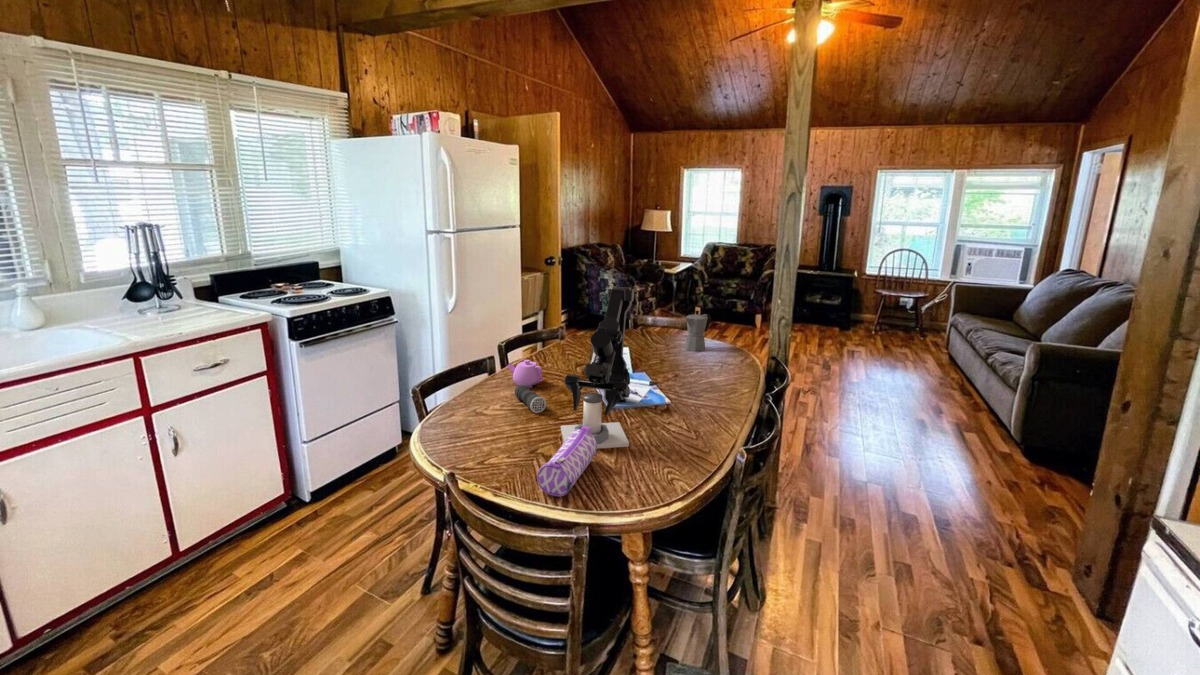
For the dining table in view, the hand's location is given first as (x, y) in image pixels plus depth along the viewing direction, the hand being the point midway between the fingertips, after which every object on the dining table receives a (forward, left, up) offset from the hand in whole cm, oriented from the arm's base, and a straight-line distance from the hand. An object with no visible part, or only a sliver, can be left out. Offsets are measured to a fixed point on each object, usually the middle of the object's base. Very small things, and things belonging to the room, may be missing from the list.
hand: (590, 413), depth 154 cm
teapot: (+16, -51, -9) cm, 55 cm away
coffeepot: (-63, -87, -9) cm, 108 cm away
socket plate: (-2, -3, -9) cm, 10 cm away
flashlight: (+16, -31, -10) cm, 36 cm away
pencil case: (+8, +18, -10) cm, 22 cm away
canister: (-1, -1, -8) cm, 8 cm away
